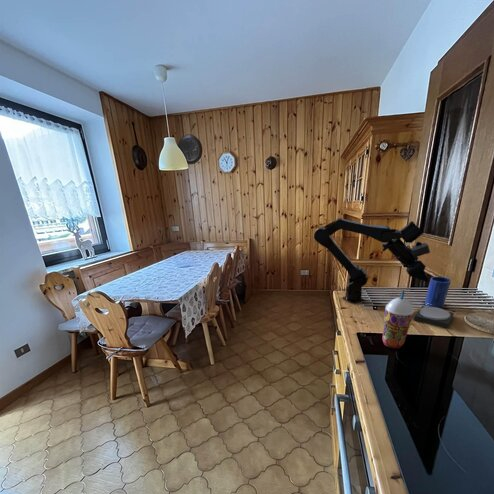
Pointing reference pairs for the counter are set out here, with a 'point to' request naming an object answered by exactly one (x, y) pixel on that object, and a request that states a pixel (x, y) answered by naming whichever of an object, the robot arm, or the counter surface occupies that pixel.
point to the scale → (434, 316)
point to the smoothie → (397, 321)
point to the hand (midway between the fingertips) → (424, 277)
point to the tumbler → (437, 292)
